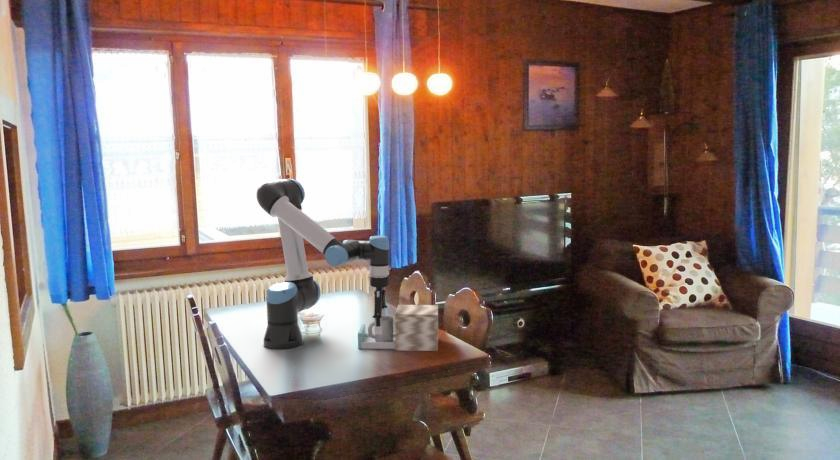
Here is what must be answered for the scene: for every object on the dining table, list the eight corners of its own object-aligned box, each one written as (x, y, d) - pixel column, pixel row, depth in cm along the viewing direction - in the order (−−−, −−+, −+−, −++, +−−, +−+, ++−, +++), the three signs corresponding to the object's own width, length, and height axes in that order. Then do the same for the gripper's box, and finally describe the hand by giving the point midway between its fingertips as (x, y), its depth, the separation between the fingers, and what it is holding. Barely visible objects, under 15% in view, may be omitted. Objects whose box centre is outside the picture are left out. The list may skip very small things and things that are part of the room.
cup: (395, 342, 252) (395, 319, 251) (370, 344, 249) (370, 322, 248) (390, 337, 259) (390, 315, 258) (366, 339, 256) (365, 317, 255)
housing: (395, 350, 247) (395, 314, 245) (398, 338, 262) (398, 304, 260) (437, 350, 246) (437, 314, 244) (438, 339, 261) (438, 305, 259)
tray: (358, 348, 248) (357, 333, 248) (362, 338, 261) (362, 324, 261) (407, 349, 248) (407, 333, 247) (409, 339, 261) (409, 324, 260)
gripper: (386, 282, 239) (387, 338, 241) (392, 269, 263) (392, 320, 266) (366, 282, 239) (366, 338, 242) (373, 269, 264) (374, 320, 266)
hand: (380, 329), depth 254 cm, fingers open, 13 cm apart
